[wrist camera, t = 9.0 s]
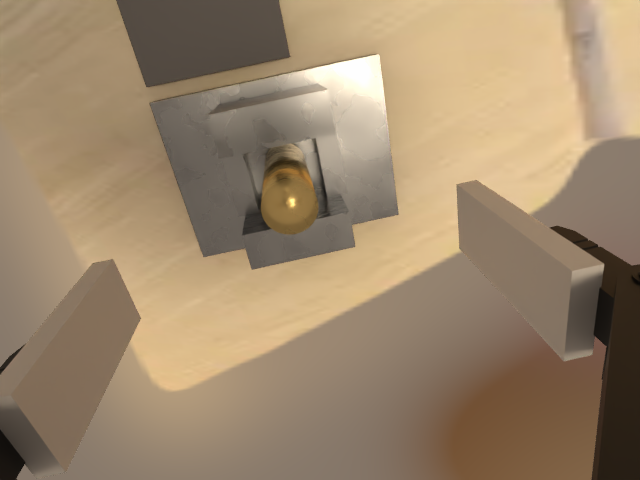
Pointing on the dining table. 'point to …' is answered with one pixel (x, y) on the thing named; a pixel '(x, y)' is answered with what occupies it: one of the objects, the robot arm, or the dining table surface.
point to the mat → (202, 36)
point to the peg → (288, 191)
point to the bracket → (276, 130)
